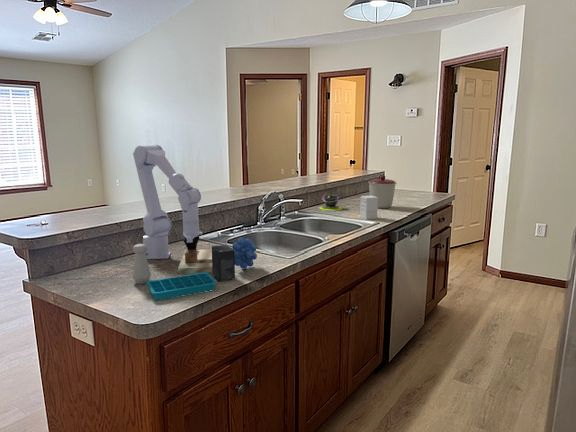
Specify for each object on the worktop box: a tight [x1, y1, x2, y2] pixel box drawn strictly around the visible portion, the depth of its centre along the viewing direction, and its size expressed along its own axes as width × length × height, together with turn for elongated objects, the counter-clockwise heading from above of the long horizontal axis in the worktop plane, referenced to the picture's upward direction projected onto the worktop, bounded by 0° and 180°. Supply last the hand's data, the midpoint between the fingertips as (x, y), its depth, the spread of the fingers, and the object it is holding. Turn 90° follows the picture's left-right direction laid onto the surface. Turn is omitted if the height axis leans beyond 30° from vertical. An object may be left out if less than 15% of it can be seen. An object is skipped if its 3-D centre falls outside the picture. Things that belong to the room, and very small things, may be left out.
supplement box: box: [359, 195, 378, 221], centre depth 242 cm, size 7×7×13 cm
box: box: [211, 244, 236, 282], centre depth 146 cm, size 8×6×11 cm
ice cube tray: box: [146, 272, 218, 301], centre depth 135 cm, size 12×20×3 cm, turn 118°
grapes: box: [231, 237, 258, 270], centre depth 154 cm, size 12×7×12 cm, turn 134°
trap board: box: [177, 248, 212, 275], centre depth 162 cm, size 12×23×2 cm, turn 7°
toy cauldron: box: [318, 193, 343, 211], centre depth 272 cm, size 15×15×11 cm
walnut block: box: [184, 248, 198, 263], centre depth 157 cm, size 4×4×4 cm
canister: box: [367, 174, 398, 209], centre depth 275 cm, size 18×18×21 cm
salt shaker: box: [131, 243, 151, 285], centre depth 140 cm, size 6×6×13 cm
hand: (192, 256), depth 160 cm, fingers closed
